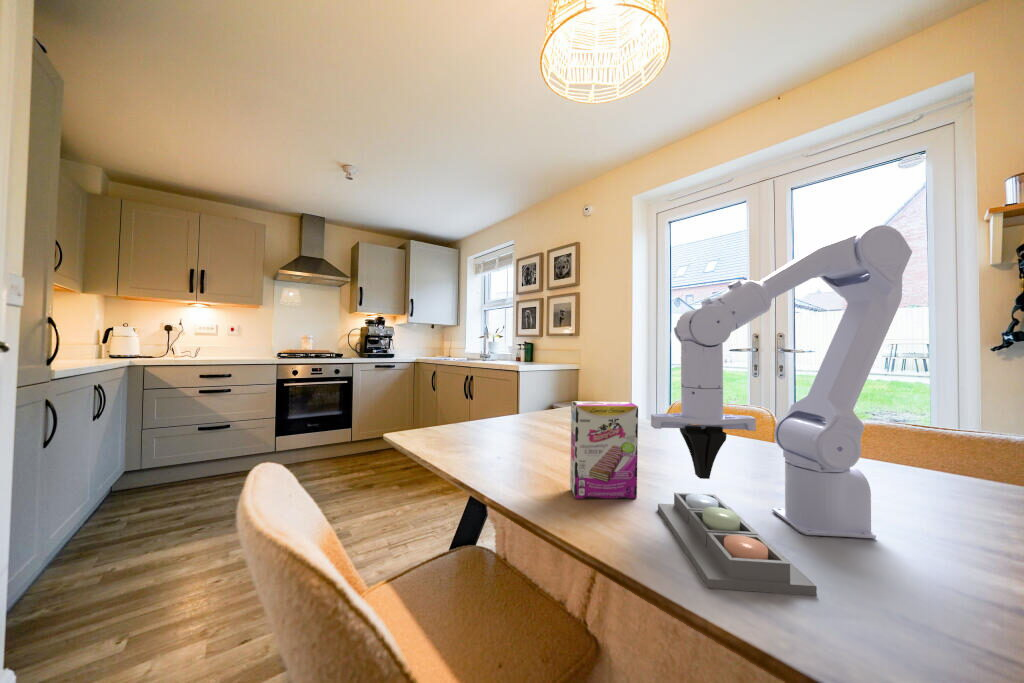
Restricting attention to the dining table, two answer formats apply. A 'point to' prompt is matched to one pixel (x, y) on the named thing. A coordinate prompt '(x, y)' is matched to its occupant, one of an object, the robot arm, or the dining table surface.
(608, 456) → the candy bar box
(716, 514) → the sage button
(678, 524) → the button panel
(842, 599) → the dining table surface
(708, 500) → the pale blue button
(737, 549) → the terracotta button
